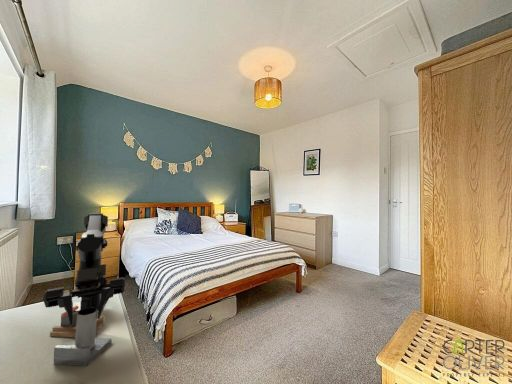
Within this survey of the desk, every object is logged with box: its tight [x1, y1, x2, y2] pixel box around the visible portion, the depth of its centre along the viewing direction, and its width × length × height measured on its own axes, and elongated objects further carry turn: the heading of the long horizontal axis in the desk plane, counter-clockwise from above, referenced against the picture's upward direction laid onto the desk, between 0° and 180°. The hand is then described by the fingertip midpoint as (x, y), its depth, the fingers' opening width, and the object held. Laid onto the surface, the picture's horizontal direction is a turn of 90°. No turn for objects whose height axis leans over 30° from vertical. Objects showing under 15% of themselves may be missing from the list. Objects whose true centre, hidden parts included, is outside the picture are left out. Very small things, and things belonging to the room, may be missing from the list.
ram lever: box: [60, 305, 80, 327], centre depth 71 cm, size 5×3×5 cm, turn 177°
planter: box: [74, 307, 98, 349], centre depth 61 cm, size 4×4×10 cm
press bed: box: [53, 337, 113, 367], centre depth 61 cm, size 9×9×4 cm
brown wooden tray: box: [49, 314, 105, 338], centre depth 71 cm, size 7×12×3 cm, turn 87°
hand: (85, 321), depth 60 cm, fingers open, 6 cm apart
